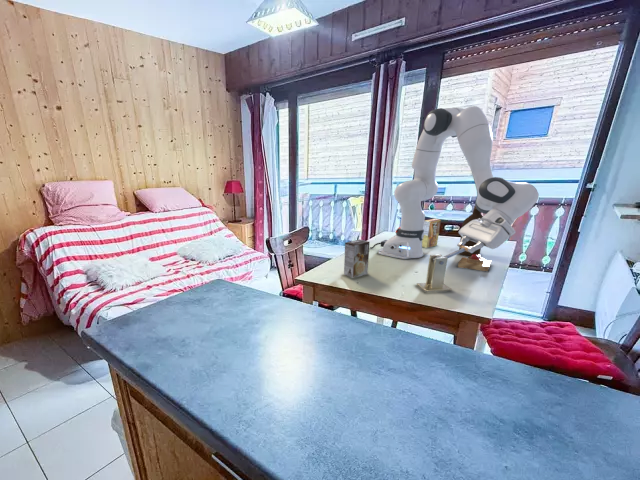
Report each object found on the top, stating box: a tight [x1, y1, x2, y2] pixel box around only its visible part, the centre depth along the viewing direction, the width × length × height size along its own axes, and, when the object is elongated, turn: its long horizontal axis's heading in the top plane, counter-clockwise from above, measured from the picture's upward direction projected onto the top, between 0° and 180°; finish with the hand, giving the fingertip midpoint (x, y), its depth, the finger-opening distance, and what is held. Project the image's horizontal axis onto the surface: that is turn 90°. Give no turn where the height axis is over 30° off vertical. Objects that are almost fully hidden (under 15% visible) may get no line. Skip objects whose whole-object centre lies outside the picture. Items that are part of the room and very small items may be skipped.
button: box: [471, 254, 482, 260], centre depth 153 cm, size 4×4×2 cm
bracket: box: [416, 253, 452, 293], centre depth 130 cm, size 10×8×14 cm
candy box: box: [422, 218, 442, 249], centre depth 186 cm, size 9×4×15 cm, turn 116°
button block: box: [457, 256, 492, 272], centre depth 154 cm, size 12×10×4 cm
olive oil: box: [458, 205, 484, 257], centre depth 167 cm, size 11×11×25 cm
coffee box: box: [343, 239, 371, 278], centre depth 149 cm, size 9×6×16 cm
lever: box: [433, 245, 469, 263], centre depth 128 cm, size 13×6×2 cm, turn 89°
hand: (464, 249), depth 127 cm, fingers closed on lever, 5 cm apart
